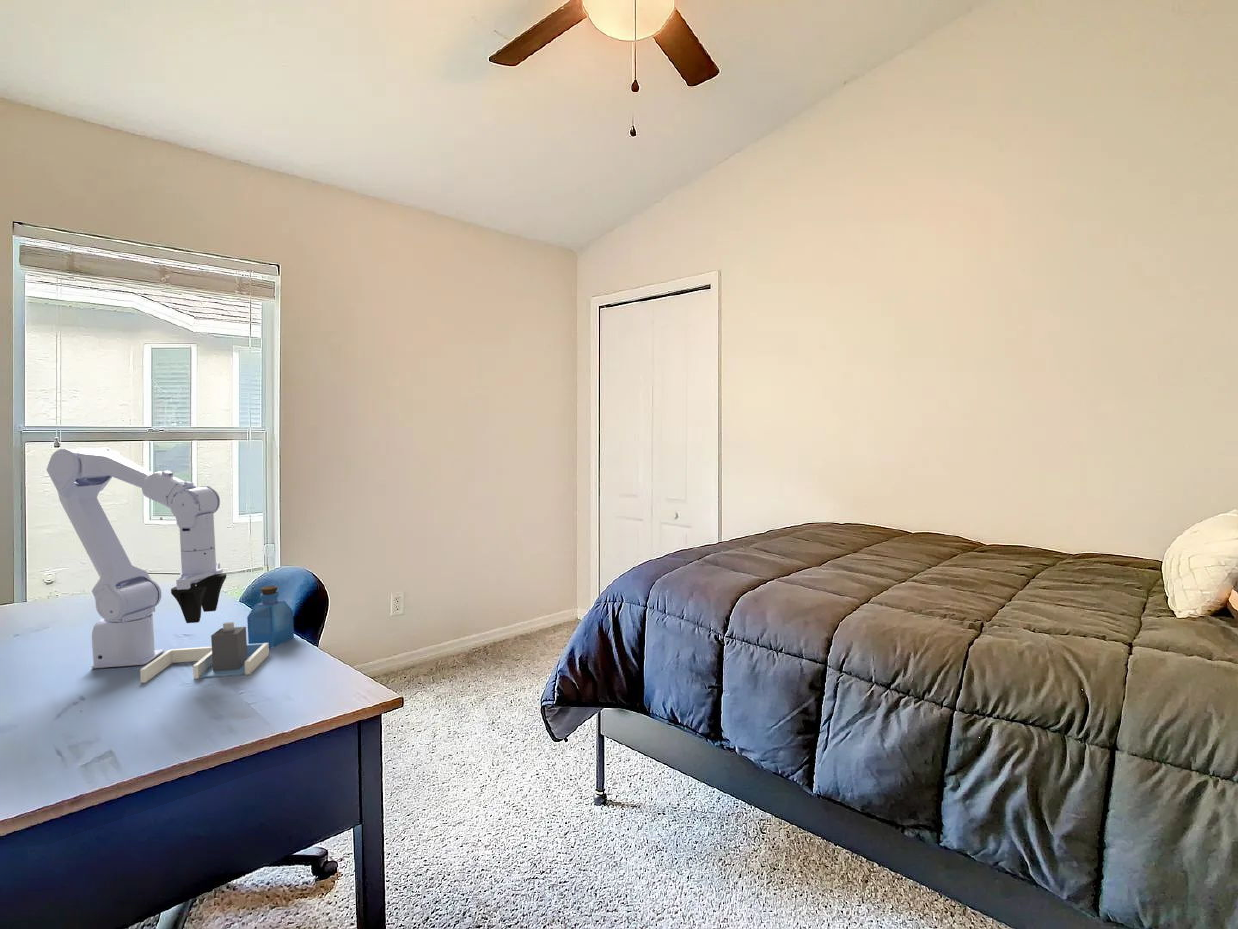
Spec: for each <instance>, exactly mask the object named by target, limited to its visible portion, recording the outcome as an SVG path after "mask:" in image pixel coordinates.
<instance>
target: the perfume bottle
mask: <svg viewBox="0 0 1238 929" xmlns="http://www.w3.org/2000/svg"><path fill="white" fill-rule="evenodd" d="M260 590H261V593H259V594H260V600H261V602H257V603H256V604H254V606H253V607H252V609H251V611H249V614H248V616H247V617H246V618H247V637H248V638H247V641H248V643H247V644H256V643H269V648H275V647H277V646H279V645H282V644H284V643H286V642H288V641H290V640H292V639H294V638H295V635H294V633H295V632H294V610H293V609H292V608H291V606H290V605H289V604H288V603H287V602H286V601H285V600H284V599H283V600H280V599H278V598H279V597H280V596H279V591H277V590H278V586H277V585H268V586H267V585H266V586H263V587H261V588H260Z"/></svg>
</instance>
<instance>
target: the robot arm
mask: <svg viewBox="0 0 1238 929" xmlns="http://www.w3.org/2000/svg"><path fill="white" fill-rule="evenodd" d="M49 458H50V459H49V461H48V464H47V467H46V472H47V474H48V476H49V478H50V479H51V481H52V483H53V485H54V487H55V489H56V492H57V494H58V498H59V501H60V504H61V505H62V507H63V509H64V513H66V515H67V517H68V519H69V520H70V521H69V522H71V524H72V526H73V529H74V531H75V532H76V534H77V536H78V538H79V540H80V542H81V543H82V546H83V548H84V550H85V551H86V554H87V555H88V557H89V559H90V561H91V563H92V565H93V567H94V569H95V571H96V572H97V574H98V576H99V579H98V580H97V583H96V584H95V585H94V587H93V588H92V590H91V593H92V595H93V597H94V601H95V608H96V611H97V613H98V615H99V616H100V617H101V618H100V619H99V620H97V621H96V622H95V623H94V625H93V627H92V631H91V644H92V645H91V646H92V647H91V648H92V659H93V660H92V662H93V664H92V665H91V666H90V667H91V669H102V668H117V667H130V666H143V665H147V664H149V663H150V662H152V661H153V660H155V659H156V658H157V657H159V656H160V655H162V654H163V653H165V652H164V651H165V649H164V648H159V649H155V648H156V647H155V632H154V615H153V613H155V612H156V607H157V606H158V605H159V604H160V602H161V599H162V589H161V587H160V585H159V584H158V583H157V581H155V580H154V579H153V578H152V577H151V576H150V575H149V573H148V571H147V570H144V569H141V568H139V567H137V566H135V565H132V564H133V563H131V560H130V559H129V557H128V555H127V553H126V550H125V549H124V546H123V545H122V543H121V541H120V539H119V538H118V536H117V534H116V532H115V530H114V527H113V525H112V524H111V523H110V520H109V518H108V517H107V514H106V513H105V511H104V509H103V507H102V505H101V503H100V502H99V499H98V496H99V494H100V492H102V491H103V490H104V489H105V488H106V486H107V485H108V484H109V482H110V481H111V480H112V478H114V479H117V480H120V481H122V482H125V483H128V484H130V485H133V486H135V487H138V488H140V489H141V491H142V494H143V496H145V497H146V498H147V499H150V500H151V501H154V502H156V503H158V504H161V505H162V506H165V507H167V508H169V509H170V511H171V513H172V514H173V516H175V519H176V526H178V529H179V544H180V545H179V546H180V563H181V565H180V566H181V572H180V574H179V577H178V578H177V579H175V581H176V582H175V583H176V586H174V587H171V589H170V594H171V595H172V597H174V599H175V600H176V601H177V603H178V605H179V607H180V609H181V612H182V615H183V618H184V620H185V622H186V623H185V624H197V623H200V622H201V617H202V610H203V613H206V612H207V613H208V612H216V611H217V608H218V603H219V598H220V593H221V590H222V587H223V584H224V582H225V581H226V579H227V573H224V569H223V568H221V563H220V562H217V558H216V556H217V555H216V554H217V553H216V537H215V536H216V535H215V518H214V517H215V516H214V515H215V513H216V512H217V511H218V509H219V508H220V505H221V499H220V495H219V493H218V492H217V491H216V490H215V489H213V488H212V487H211V486H209V485H202V486H196V485H195V484H194V482H192V481H186V480H183V479H181V478H179V477H176V476H175V475H174V472H172V471H171V470H162V471H161V470H159V471H156V472H152V471H149V470H148V469H146V468H144V467H143V466H140V465H138V464H136V463H134V462H133V461H131V460H129V459H127V458H125V457H123V456H122V454H121V453H120V451H116V450H113V449H111V448H110V447H106V446H103V447H96V448H95V447H94V448H93V447H92V448H75V449H73V448H72V449H68V448H60V449H58V450H56V451H54V452H53V454H52V455H51V456H50V457H49Z"/></svg>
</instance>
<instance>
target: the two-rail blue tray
mask: <svg viewBox="0 0 1238 929" xmlns="http://www.w3.org/2000/svg"><path fill="white" fill-rule="evenodd" d="M269 655H270V647H269V643H256V644H249V643H247V660H246V661H245V664H244V665H243V666H242V667H241V668H240V669H239V670H227V671H214V672H213V661H212V646H200V647H186V648H176V649H175V648H172V649H171V648H170V649H168V650H166V651H165V652H162V653H161V654H159V655H158V656H156V657H155V658H154V659H152V660H151V661H149V662H148V663H146V664H145V666H143V667H142V668H140V670H139V674H140V675H139V676H140V683H141V684H142V683H148V681H150V680H151V679H153V678H155V676H156V675H158V674H159V673H160V672H162V671H163V670H164V669H166V668H167V667H168V666H170V665H172V664H174V663H188V662H195V663H194V664H193V665H192V668H193V670H192V671H193V673H192V674H193V679H194V680H195V679H197V680H198V679H202V678H217V677H229V676H231V677H232V676H241V675H242V676H243V675H246V676H247V675H251V674H252V673H253V672H254V671H255V670H256V669H257V667H259V665H261V664H262V662H263V661H265V659H266V658H267V657H268V656H269Z"/></svg>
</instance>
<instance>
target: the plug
mask: <svg viewBox="0 0 1238 929" xmlns="http://www.w3.org/2000/svg"><path fill="white" fill-rule="evenodd" d="M210 638H211V639H210V640H211V647H212V661H213V672H214V671H227V670H239V669H240V668H241V667H242V666H243V665H244V664H245V661H246V660H247V644H248V643H247V641H248V639H247V626H236V627H235V622H233V621H226V622H224V623H222V627H221V628H219V629H218V630H217V631H215V632H213V634H212V635H210Z"/></svg>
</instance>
